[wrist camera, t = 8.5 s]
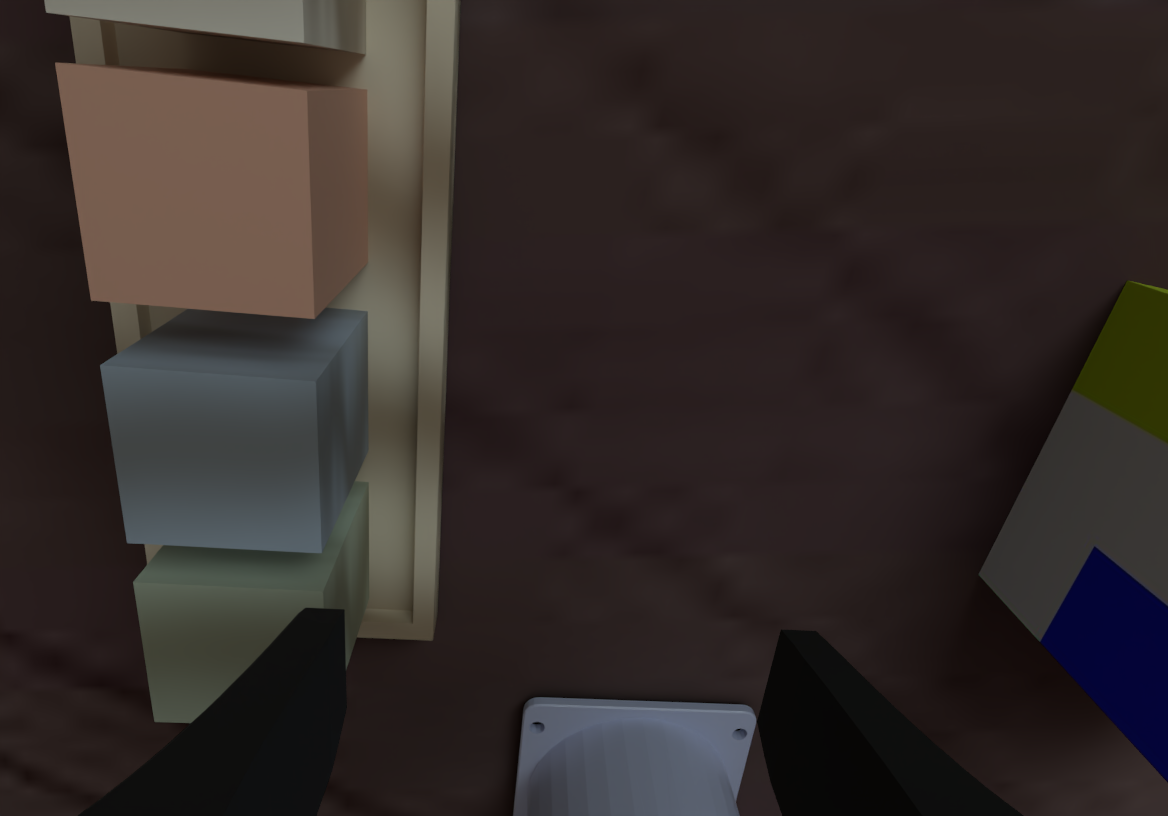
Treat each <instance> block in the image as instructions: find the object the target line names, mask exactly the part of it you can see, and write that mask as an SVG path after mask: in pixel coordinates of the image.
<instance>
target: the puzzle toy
mask: <svg viewBox="0 0 1168 816" xmlns="http://www.w3.org/2000/svg"><path fill="white" fill-rule="evenodd" d="M978 575H979V576H980V577H981V578H982V579H983V580H984V581H985V582H986V584H987V585H988V586H989V587H990V588H991V589H992V590H993V591H994V592H995V593H996V595H997V596H998V597H999V598H1000V599H1001V600H1002V601H1003V602H1004V603H1005V604H1006V606H1007V607H1008V608H1009V609H1010V610H1011V611H1012V612H1013V613H1014V614H1015V615H1016V617H1017V618H1018V619H1019V620H1020V621H1021V622H1022V623H1023V624H1024V625H1025V626H1026V627H1027V629H1028V630H1029V631H1030V632H1031V633H1032V634H1033V635H1034V636H1035V637H1036V638H1037V640H1038V641H1039V642H1040V643H1041V644H1042V645H1043V646H1044V647H1045V648H1046V649H1047V651H1048V652H1049V653H1050V654H1051V655H1052V656H1053V657H1054V658H1055V659H1056V660H1057V662H1058V663H1059V664H1060V665H1061V666H1062V667H1063V668H1064V669H1065V670H1066V671H1067V673H1068V674H1069V675H1070V676H1071V677H1072V678H1073V679H1074V680H1075V681H1076V682H1077V683H1078V685H1079V686H1080V687H1081V688H1082V689H1083V690H1084V691H1085V692H1086V693H1087V694H1088V696H1089V697H1090V698H1091V699H1092V700H1093V701H1094V702H1095V703H1096V704H1097V705H1098V707H1099V708H1100V709H1101V710H1102V711H1103V712H1104V713H1105V714H1106V715H1107V716H1108V718H1109V719H1110V720H1111V721H1112V722H1113V723H1114V724H1115V725H1116V726H1117V727H1118V729H1119V730H1120V731H1121V732H1122V733H1123V734H1124V735H1125V736H1126V737H1127V738H1128V740H1129V741H1130V742H1131V743H1132V744H1133V745H1134V746H1135V747H1136V748H1137V749H1138V750H1139V752H1140V753H1141V754H1142V755H1143V756H1144V757H1145V758H1146V759H1147V760H1148V761H1149V763H1150V764H1151V765H1152V766H1153V767H1154V768H1155V769H1156V770H1157V771H1158V772H1159V774H1160V775H1161V776H1162V777H1163V778H1164V779H1165V780H1166V781H1167V782H1168V290H1166V289H1162V288H1158V287H1153V286H1149V285H1145V284H1140V283H1136V282H1132V281H1127V282H1126V284H1125V286H1124V288H1123V290H1122V292H1121V294H1120V296H1119V298H1118V300H1117V302H1116V304H1115V306H1114V308H1113V310H1112V312H1111V314H1110V315H1109V317H1108V319H1107V321H1106V323H1105V325H1104V327H1103V329H1102V331H1101V333H1100V335H1099V337H1098V339H1097V341H1096V343H1095V345H1094V347H1093V349H1092V351H1091V353H1090V355H1089V357H1088V359H1087V361H1086V363H1085V365H1084V367H1083V369H1082V371H1081V373H1080V375H1079V377H1078V379H1077V381H1076V383H1075V385H1074V387H1073V389H1072V391H1071V393H1070V395H1069V397H1068V398H1067V400H1066V402H1065V404H1064V406H1063V408H1062V410H1061V412H1060V414H1059V416H1058V418H1057V420H1056V422H1055V424H1054V426H1053V428H1052V430H1051V432H1050V434H1049V436H1048V438H1047V440H1046V442H1045V444H1044V446H1043V448H1042V450H1041V452H1040V454H1039V456H1038V458H1037V460H1036V462H1035V464H1034V466H1033V468H1032V470H1031V472H1030V474H1029V476H1028V478H1027V480H1026V482H1025V483H1024V485H1023V487H1022V489H1021V491H1020V493H1019V495H1018V497H1017V499H1016V501H1015V503H1014V505H1013V507H1012V509H1011V511H1010V513H1009V515H1008V517H1007V519H1006V521H1005V523H1004V525H1003V527H1002V529H1001V531H1000V533H999V535H998V537H997V539H996V541H995V543H994V545H993V547H992V549H991V551H990V553H989V555H988V557H987V559H986V561H985V563H984V565H983V567H982V568H981V570H980V572H979V574H978Z"/></svg>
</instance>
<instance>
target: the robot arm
mask: <svg viewBox="0 0 1168 816" xmlns="http://www.w3.org/2000/svg"><path fill="white" fill-rule="evenodd" d="M346 708H347V700H346V653H345V609H325V608H304V609H303V610H302V611H301V612H299V613H298V614H297V615H296V616H295V618H294V619H293V620H292V621H291V622H290V623H289V624H288V625H287V626H286V628H285V629H284V630H283V631H282V632H281V633H280V634H279V635H278V636H277V637H276V639H275V640H274V641H273V642H272V643H271V644H270V645H269V646H268V647H267V648H266V649H265V650H264V651H263V653H262V654H261V655H260V656H259V657H258V658H257V659H256V660H255V661H254V662H253V663H252V664H251V665H250V666H249V667H248V668H247V669H246V670H245V671H244V672H243V673H242V674H241V675H240V676H239V677H238V678H237V679H236V680H235V681H234V682H233V683H232V684H231V685H230V686H229V687H228V688H227V689H226V690H225V691H224V692H223V693H222V694H221V695H220V696H219V697H218V698H217V699H216V700H215V701H214V702H213V703H212V704H211V705H210V706H209V707H208V708H207V709H206V710H205V711H204V712H203V713H201V714H200V715H199V716H198V717H197V718H196V719H195V720H194V721H193V722H192V723H190V724H189V725H188V726H187V727H186V728H185V729H184V730H183V731H182V732H181V733H179V734H178V735H177V736H176V737H175V738H174V739H173V740H172V741H171V742H170V743H168V744H167V745H166V746H165V747H164V748H163V749H162V750H160V751H159V752H158V753H157V754H156V755H155V756H153V757H152V758H151V759H150V760H149V761H147V762H146V763H145V764H144V765H143V766H141V767H140V768H139V769H138V770H137V771H135V772H134V773H133V774H132V775H130V776H129V777H128V778H127V779H125V780H124V781H123V782H122V783H120V784H119V785H118V786H116V787H115V788H114V789H113V790H111V791H110V792H109V793H108V794H106V795H105V796H104V797H102V798H101V799H100V800H98V801H97V802H96V803H94V804H93V805H92V806H90V807H89V808H88V809H86V810H85V811H83V812H82V813H81V814H79V815H78V816H316V815H317V812H318V809H319V807H320V804H321V801H322V798H323V795H324V792H325V789H326V787H327V784H328V781H329V778H330V775H331V772H332V769H333V764H334V760H335V756H336V752H337V748H338V744H339V739H340V735H341V731H342V726H343V722H344V717H345V713H346ZM534 722H541V724H537V725H536V724H532V723H534ZM757 723H758V728H759V732H760V737H761V742H762V747H763V751H764V756H765V760H766V764H767V769H768V773H769V777H770V781H771V784H772V787H773V790H774V793H775V796H776V799H777V802H778V804H779V807H780V810H781V813H782V816H1023V815H1022V814H1021V813H1019V812H1018V811H1017V810H1015V809H1014V808H1013V807H1011V806H1010V805H1009V804H1007V803H1006V802H1005V801H1003V800H1002V799H1001V798H999V797H998V796H997V795H996V794H994V793H993V792H992V791H990V790H989V789H988V788H987V787H985V786H984V785H983V784H982V783H980V782H979V781H978V780H977V779H975V778H974V777H973V776H972V775H970V774H969V773H968V772H967V771H966V770H965V769H963V768H962V767H961V766H960V765H959V764H958V763H956V762H955V761H954V760H953V759H952V758H951V757H949V756H948V755H947V754H946V753H945V752H944V751H942V750H941V749H940V748H939V747H938V746H937V745H935V744H934V743H933V742H932V741H931V740H930V739H929V738H928V737H927V736H925V735H924V734H923V733H922V732H921V731H920V730H919V729H918V728H917V727H915V726H914V725H913V724H912V723H911V722H910V721H909V720H908V719H907V718H906V717H905V716H904V715H903V714H901V713H900V712H899V711H898V710H897V709H896V708H895V707H894V706H893V705H892V704H891V703H890V702H889V701H888V700H887V699H886V698H885V697H884V696H883V695H881V694H880V693H879V692H878V691H877V690H876V689H875V688H874V687H873V686H872V685H871V684H870V683H869V682H868V681H867V680H866V679H865V678H864V677H863V676H862V675H861V674H860V673H859V672H858V671H857V670H856V669H855V668H854V667H853V666H852V665H851V664H850V663H849V662H848V661H847V660H846V659H845V658H844V657H843V656H842V655H841V654H840V653H838V652H837V651H836V650H835V649H834V648H833V647H832V646H831V645H830V644H829V643H828V642H827V641H826V640H825V639H824V638H823V637H822V636H820V635H819V634H818V633H817V632H816V631H799V630H781V632H780V635H779V639H778V643H777V647H776V651H775V655H774V659H773V662H772V666H771V670H770V674H769V678H768V682H767V686H766V690H765V693H764V697H763V701H762V705H761V709H760V713H759V717H758V720H757ZM755 725H756V717H755V714H754V711H753V710H752V708H751V707H749V706H747V705H741V704H714V703H686V702H658V701H631V700H603V699H575V698H548V697H537V698H532V699H530V700H528V701H527V702H526V703H525V705H524V708H523V717H522V728H521V738H520V748H519V758H518V768H517V779H516V789H515V799H514V809H513V816H739V812H738V809H737V805H736V799H737V795H738V791H739V787H740V783H741V779H742V775H743V772H744V768H745V764H746V760H747V756H748V752H749V748H750V744H751V741H752V737H753V733H754V729H755ZM736 729H741V730H739V731H735V730H736Z"/></svg>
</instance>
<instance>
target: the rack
mask: <svg viewBox="0 0 1168 816" xmlns="http://www.w3.org/2000/svg"><path fill="white" fill-rule="evenodd" d="M44 1H45V8H46V13H53V14H60V15H66V16H70V23H71V30H72V37H73V45H74V52H75V59H76V64H95V65H116V66H136V67H156V68H177V69H191V70H199V71H208V72H217V73H226V74H235V75H244V76H252V77H261V78H270V79H279V80H288V81H297V82H305V83H314V84H323V85H332V86H341V87H349V88H358V89H367V112H368V263H367V264H366V265H365V266H364V267H363V268H362V269H361V270H360V271H359V272H358V274H357V275H356V276H355V277H354V278H353V279H352V280H351V281H350V282H349V283H348V284H347V285H346V286H345V287H344V288H343V289H342V291H341V292H340V293H339V294H338V295H337V296H336V297H335V298H334V299H333V300H332V301H331V302H330V303H329V304H328V305H327V306H326V308H325V309H324V310H323V311H322V312H321V313H320V314H319V315H318V316H317V317H316V318H315V319H307V318H295V317H283V316H271V315H259V314H247V313H235V312H223V311H211V310H199V309H187V308H175V307H163V306H151V305H139V304H127V303H115V302H110V305H111V312H112V319H113V326H114V333H115V340H116V347H117V355H115V356H114V357H112V358H111V359H109V360H107V361H106V362H104V363H103V364H101V365H100V368H101V375H102V381H103V388H104V394H105V401H106V408H107V414H108V421H109V427H110V434H111V440H112V447H113V453H114V460H115V467H116V473H117V480H118V486H119V493H120V499H121V506H122V512H123V519H124V526H125V532H126V539H127V543H134V544H145V551H146V558H147V566H146V567H145V568H144V569H143V571H142V572H141V573H140V574H139V576H138V577H137V578H136V579H135V581H134V582H133V585H134V591H135V598H136V604H137V611H138V617H139V624H140V631H141V637H142V644H143V650H144V657H145V663H146V670H147V676H148V683H149V690H150V696H151V703H152V709H153V716H154V722H173V723H192V722H193V721H194V720H195V719H196V718H197V717H198V716H199V715H200V714H201V713H203V712H204V711H205V710H206V709H207V708H208V707H209V706H210V705H211V704H212V703H213V702H214V701H215V700H216V699H217V698H218V697H219V696H220V695H221V694H222V693H223V692H224V691H225V690H226V689H227V688H228V687H229V686H230V685H231V684H232V683H233V682H234V681H235V680H236V679H237V678H238V677H239V676H240V675H241V674H242V673H243V672H244V671H245V670H246V669H247V668H248V667H249V666H250V665H251V664H252V663H253V662H254V661H255V660H256V659H257V658H258V657H259V656H260V655H261V654H262V653H263V651H264V650H265V649H266V648H267V647H268V646H269V645H270V644H271V643H272V642H273V641H274V640H275V639H276V637H277V636H278V635H279V634H280V633H281V632H282V631H283V630H284V629H285V628H286V626H287V625H288V624H289V623H290V622H291V621H292V620H293V619H294V618H295V616H296V615H297V614H298V613H299V612H301V611H302V610H303V609H304V608H325V609H345V653H346V669H347V666H348V663H349V660H350V657H351V654H352V650H353V647H354V644H355V641H356V638H357V637H361V638H384V639H408V640H431V641H433V637H434V631H435V626H436V620H437V613H438V587H439V560H440V534H441V507H442V481H443V454H444V428H445V401H446V375H447V348H448V322H449V295H450V269H451V242H452V216H453V189H454V163H455V136H456V110H457V83H458V57H459V30H460V4H461V0H44Z"/></svg>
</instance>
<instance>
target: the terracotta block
mask: <svg viewBox="0 0 1168 816" xmlns="http://www.w3.org/2000/svg"><path fill="white" fill-rule="evenodd" d="M55 65H56V72H57V79H58V85H59V92H60V98H61V105H62V112H63V118H64V125H65V131H66V138H67V145H68V151H69V158H70V164H71V171H72V178H73V184H74V191H75V197H76V204H77V211H78V217H79V224H80V230H81V237H82V244H83V250H84V257H85V263H86V270H87V277H88V283H89V290H90V296H91V301H103V302H115V303H127V304H139V305H151V306H163V307H175V308H187V309H199V310H211V311H223V312H235V313H247V314H259V315H271V316H283V317H295V318H307V319H315V318H316V317H317V316H318V315H319V314H320V313H321V312H322V311H323V310H324V309H325V308H326V306H327V305H328V304H329V303H330V302H331V301H332V300H333V299H334V298H335V297H336V296H337V295H338V294H339V293H340V292H341V291H342V289H343V288H344V287H345V286H346V285H347V284H348V283H349V282H350V281H351V280H352V279H353V278H354V277H355V276H356V275H357V274H358V272H359V271H360V270H361V269H362V268H363V267H364V266H365V265H366V264H367V263H368V112H367V89H358V88H349V87H341V86H332V85H323V84H314V83H305V82H297V81H288V80H279V79H270V78H261V77H252V76H244V75H235V74H226V73H217V72H208V71H199V70H191V69H177V68H156V67H136V66H116V65H95V64H75V63H55Z"/></svg>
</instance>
